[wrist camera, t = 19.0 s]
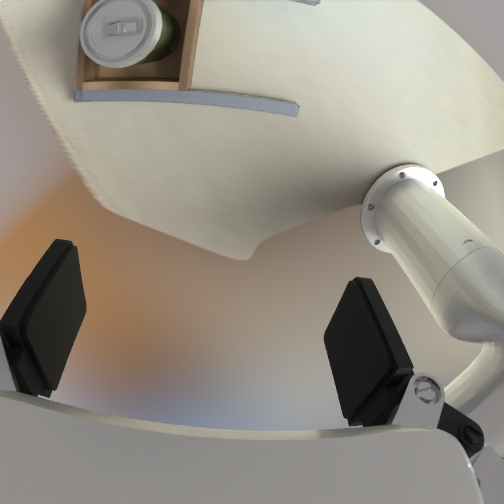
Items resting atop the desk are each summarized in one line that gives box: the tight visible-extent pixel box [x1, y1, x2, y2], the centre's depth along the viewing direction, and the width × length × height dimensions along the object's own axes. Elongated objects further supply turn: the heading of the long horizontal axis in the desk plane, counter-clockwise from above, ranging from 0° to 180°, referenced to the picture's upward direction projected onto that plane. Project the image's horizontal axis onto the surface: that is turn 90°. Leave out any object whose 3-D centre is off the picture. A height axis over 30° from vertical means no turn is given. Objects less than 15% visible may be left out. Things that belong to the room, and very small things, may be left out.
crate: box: [76, 0, 204, 91], centre depth 22 cm, size 10×10×5 cm
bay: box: [74, 0, 321, 117], centre depth 24 cm, size 22×13×2 cm, turn 81°
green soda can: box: [80, 0, 181, 68], centre depth 19 cm, size 5×5×12 cm
